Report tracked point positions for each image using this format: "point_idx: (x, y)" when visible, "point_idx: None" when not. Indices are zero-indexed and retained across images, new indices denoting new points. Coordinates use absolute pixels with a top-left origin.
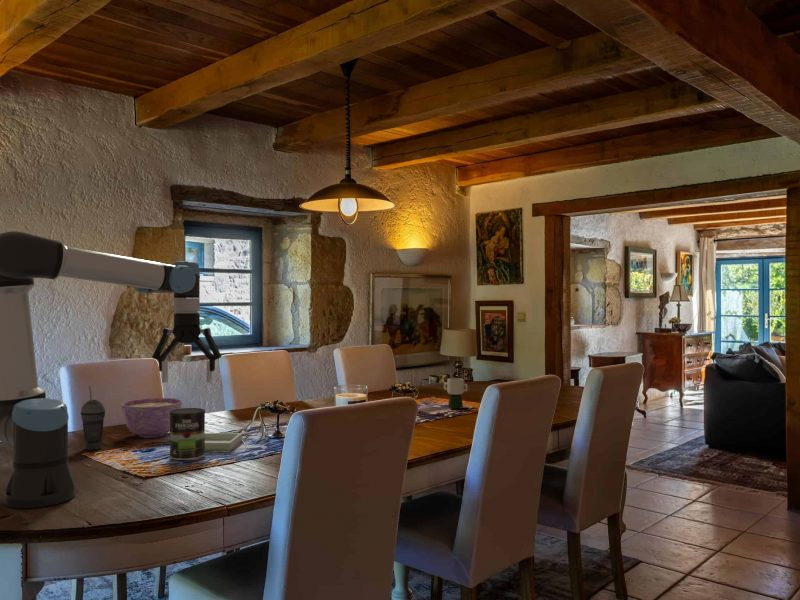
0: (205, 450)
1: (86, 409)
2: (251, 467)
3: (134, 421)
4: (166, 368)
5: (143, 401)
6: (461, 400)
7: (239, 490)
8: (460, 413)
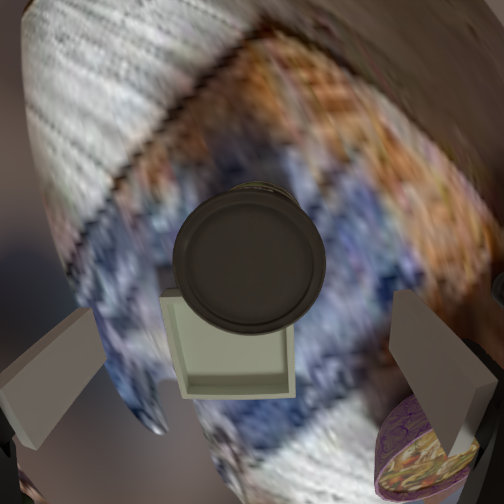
0: None
1: None
2: (67, 151)
3: None
4: (428, 385)
5: (460, 474)
6: None
7: (58, 13)
8: None
